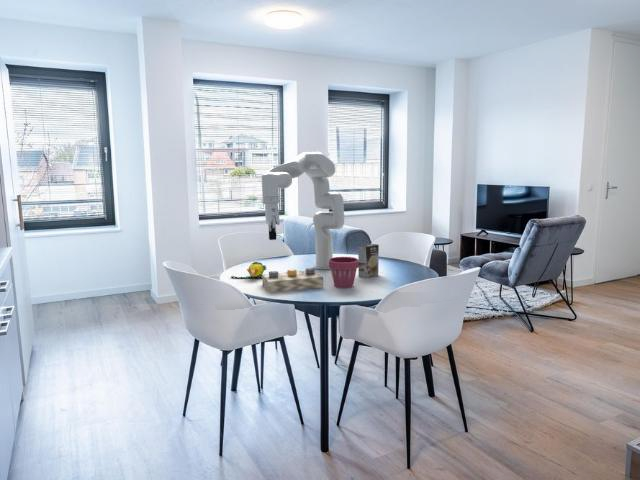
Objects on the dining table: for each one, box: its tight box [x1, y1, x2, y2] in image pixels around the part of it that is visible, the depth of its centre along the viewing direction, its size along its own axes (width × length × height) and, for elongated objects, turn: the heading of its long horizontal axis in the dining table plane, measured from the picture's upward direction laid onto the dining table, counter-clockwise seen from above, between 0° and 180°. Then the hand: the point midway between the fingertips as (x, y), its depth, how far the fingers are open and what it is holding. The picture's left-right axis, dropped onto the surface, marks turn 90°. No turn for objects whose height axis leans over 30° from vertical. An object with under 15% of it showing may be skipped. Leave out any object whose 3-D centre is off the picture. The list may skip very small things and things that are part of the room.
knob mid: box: [287, 269, 298, 277], centre depth 229 cm, size 4×4×6 cm
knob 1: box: [268, 270, 279, 278], centre depth 226 cm, size 4×4×6 cm
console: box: [261, 270, 324, 293], centre depth 229 cm, size 26×16×5 cm, turn 107°
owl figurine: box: [230, 261, 267, 279], centre depth 249 cm, size 28×9×15 cm
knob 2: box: [305, 267, 316, 275], centre depth 231 cm, size 4×4×6 cm
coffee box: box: [357, 243, 380, 279], centre depth 246 cm, size 9×6×16 cm
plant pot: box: [329, 256, 359, 289], centre depth 226 cm, size 14×14×13 cm
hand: (272, 239), depth 223 cm, fingers closed
